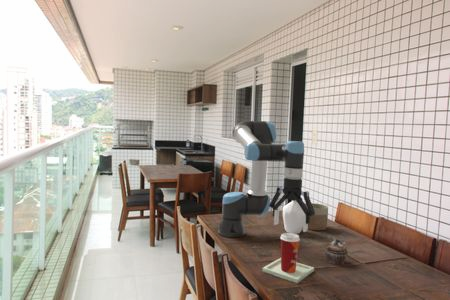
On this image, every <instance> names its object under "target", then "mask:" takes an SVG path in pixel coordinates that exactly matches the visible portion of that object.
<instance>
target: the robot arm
mask: <svg viewBox="0 0 450 300" xmlns="http://www.w3.org/2000/svg"><path fill="white" fill-rule="evenodd" d="M232 137H233V139H234V140H235V141H236V142H237V143H239V144H240V145H241V146H242V147H243V148H244V158H245V160H246V161H251V169H250V170H251V173H250V184H249V189H248V190H247V191H246V194H244V193H243V192H241V191H232V192H227V193H225V194H224V195H223V196H222V210H221V211H222V212H221V221H220V223H219V227H218V232H217V233H218V234H219V235H220V236H222V237H226V238H240V237H243V236H245V234H246V230H245V226H244V222H243V216H265V215H267V213H268V212H269V210H270V208H271V209H272V217H273V218H274V219H273V225H274V226H276V225H279V219H280V209H279V207H281V205H282V204H284V202H285V201H286V200H287V201H288V200H289V201H290V200H291V201H292V200H293V201H295V200H296V202H298V204H299V205H300V207H301V208H302V210H303V212H304V213H305V216H304V223H303V228H302V232H303V233H305V232H308V230H309V229H308V224H309V223H310V216H312V215H315V211H314V208H313V206H312V201H311V198H310V192H309V191H308V190H307V191H303V190H302V188H303V179H302V178H303V175H304V174H303V171H304V169H303V168H304V156H305V155H304V154H305V144H304V142H303V141H298V140H297V141H296V140H294V141H293V140H288V141H286V143H281V144H280V143H279V144H277V143H275V142H276V140H277V129H276V127H275V124H274V123H273V122H271V121H266V120H264V121H262V120H261V121H260V120H243V121H241V122H239V123H237V124H236V125H234V127H233V129H232ZM274 143H275V144H274ZM268 162H284V175H283V176H284V178H283V187H282V186H279V187H276V190H275V193H274V196H273V197H272V199H271V197H270V195H269V194H268V192H267V191H266V182H267V171H268ZM282 193H283V195H282ZM281 195H282V197H281V198H280V196H281ZM302 197H303V198H302ZM279 198H280V199H279ZM305 203H306V205H307V207H306V205H305Z"/></svg>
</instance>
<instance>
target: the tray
mask: <svg viewBox="0 0 450 300" xmlns="http://www.w3.org/2000/svg"><path fill="white" fill-rule="evenodd" d="M314 271H315V267H313V266H310V265H307V264H303V263H300V262H297V263H296V270H295V272H293V273H287V272H284V271H282V270H281V257H280V258H278V259H276V260H274V261H272V262H270V263H269V264H267V265H265V266H264V267H262V272H263V273H266V274H268V275H271V276H274V277H277V278H279V279H280V278H281V279H283V280H286V281H288V282H291V283H295V284H299V283H300V282H301V281H302V280H305V278H306V277H308V276H309V275H311V274H312V273H313V272H314Z"/></svg>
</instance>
